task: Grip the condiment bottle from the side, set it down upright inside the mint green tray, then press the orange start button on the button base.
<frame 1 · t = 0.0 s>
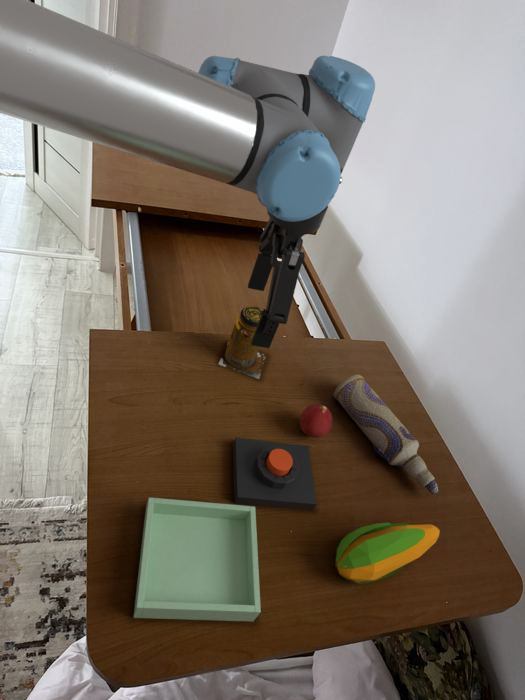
hand: (257, 315, 79), 21 cm above the table, tool pointing down, fingers open, 13 cm apart
button base: (271, 476, 84), on the table
start button: (279, 462, 81), point 4 cm above the table, slide at 0.1 cm
decorative bottle: (374, 442, 96), on the table
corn: (379, 555, 79), on the table
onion: (308, 433, 93), on the table
mint green tray: (196, 563, 70), on the table
condiment: (242, 361, 101), on the table
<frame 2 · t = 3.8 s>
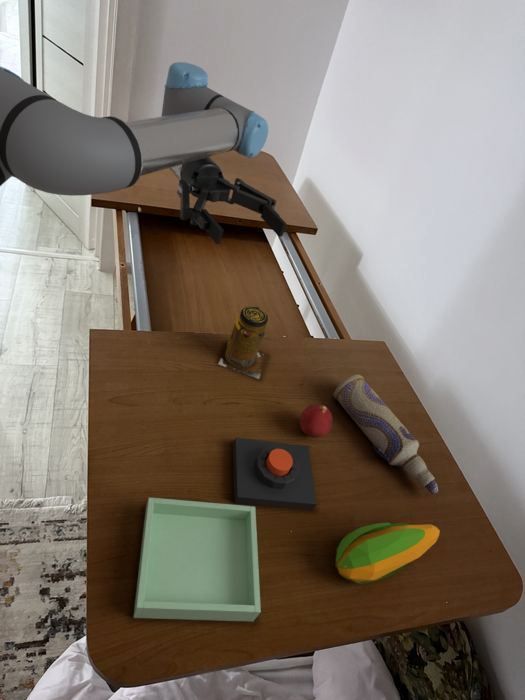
hand: (253, 233, 89), 24 cm above the table, tool horizontal, fingers open, 13 cm apart
nothing on the table moved.
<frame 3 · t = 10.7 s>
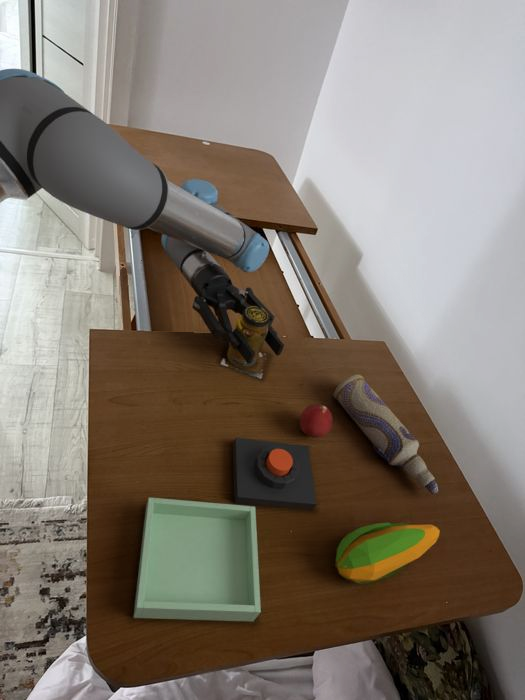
hand: (266, 354, 94), 7 cm above the table, tool horizontal, fingers closed on condiment, 6 cm apart
condiment: (244, 361, 101), on the table, touching gripper
everything else where it was.
when the fingers open (8 cm above the table, at t = 25.1 s): condiment stays where it is, resting on mint green tray.
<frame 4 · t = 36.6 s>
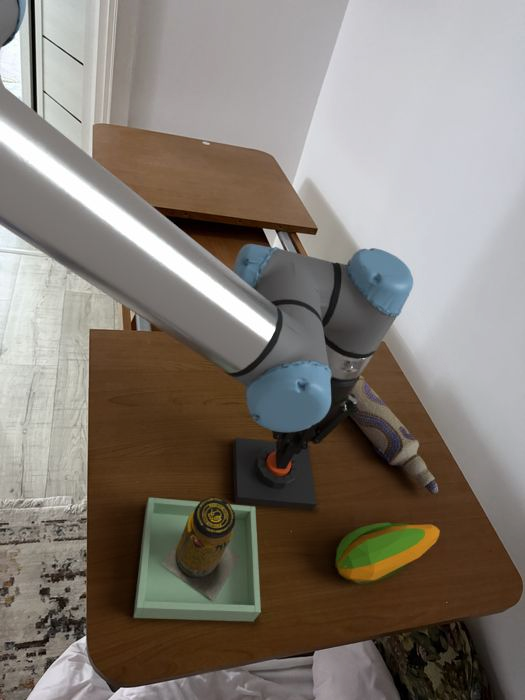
hand: (280, 461, 81), 5 cm above the table, tool pointing down, fingers closed
start button: (277, 465, 81), point 4 cm above the table, slide at -0.7 cm, touching gripper
condiment: (201, 561, 70), point 1 cm above the table, touching mint green tray
everything else where it was.
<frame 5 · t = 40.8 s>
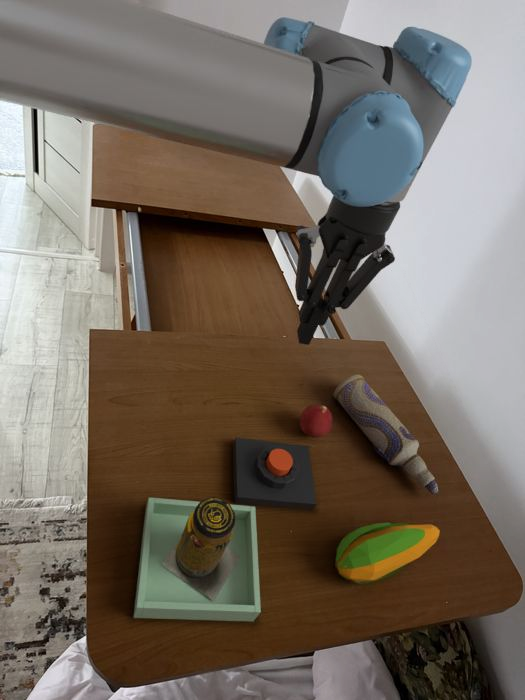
hand: (302, 337, 73), 24 cm above the table, tool pointing down, fingers closed
start button: (279, 462, 81), point 4 cm above the table, slide at 0.1 cm
everything else where it was.
at the end: condiment inside the target area in the mint green tray (0.5 cm from its centre), point 0.6 cm above the mint green tray's base; condiment tilted 0°; start button pushed in 1.0 cm at the most during the clip, back to where it started at the end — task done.
